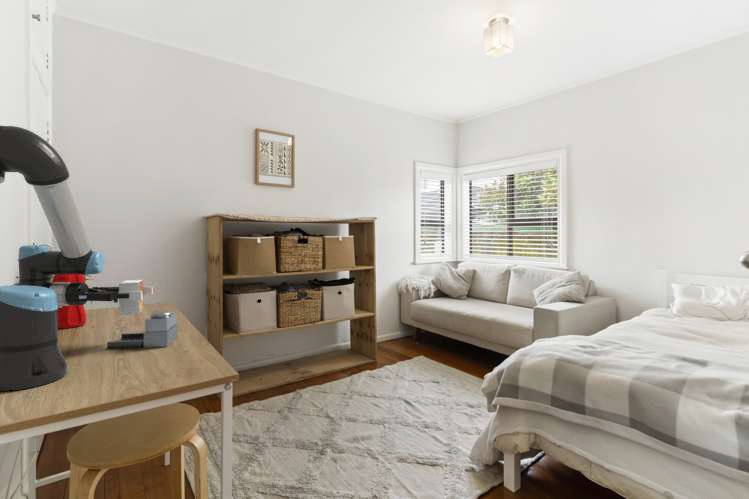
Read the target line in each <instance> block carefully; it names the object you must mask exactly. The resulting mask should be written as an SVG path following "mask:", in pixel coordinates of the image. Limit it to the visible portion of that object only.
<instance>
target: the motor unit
mask: <svg viewBox="0 0 749 499" xmlns="http://www.w3.org/2000/svg"><path fill="white" fill-rule="evenodd" d="M144 322H145V324H144V325H145V326H144V328H145V330H144V332H131V333H130V332H128V333H126V332H125V333H121V337H120V338H118V339H117V340H115V341H108V342H107V343H106V344H107V347H106V348H107V350H122V349H123V350H125V349H142V348H144V349H147V348H150V349H151V348H168V347H169V346H170V345H171V344H172V343H174V342H175V341H176V340H177V339H179V332H178V329H179V327H178V326H179V325H178V323H177V312H172V311H170V310H160V311H159V310H158V311H154V312H151V313H150V316H149V317H148V318H146V319H145V320H144ZM175 339H176V340H175Z"/></svg>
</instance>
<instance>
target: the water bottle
mask: <svg viewBox="0 0 749 499" xmlns="http://www.w3.org/2000/svg"><path fill="white" fill-rule="evenodd" d="M52 278H53V279H52V283H55V282H70V283H72V282H84V283H86V279H85V276H84V275H53V277H52ZM85 324H87V313H86V310H85V306H84V305H81V306H70V305H68V306H62V307H61V308H59V307H58V329H63V330H64V329H70V328H71V329H72V328H76V327H77V328H78V327H82V326H84V325H85Z"/></svg>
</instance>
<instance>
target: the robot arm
mask: <svg viewBox="0 0 749 499" xmlns="http://www.w3.org/2000/svg"><path fill="white" fill-rule="evenodd" d="M6 173H18V174H20V175H22V176H23V178H24V180H25V182H26V183H27V185H30V186H32V187H33V189H34V192H35V195H36V196H37V198H38V200H39V202H40V206H41V207H42V210H43V212H44V215H45V218H46V219H47V222H48V224H49V226H50V229H51V231H52V234H53V236H54V238H55V240H56V243H57V245H58V247H59V249H60V250H59V251H58V250H57V251H56V250H51V247H50V245H47V244H46V245H45V244H44V245H43V244H30V245H29V244H27V245H22V246H20V247H19V249H18V259H17V262H18V277H19V281H18V282H16V283H13V284H12V285H1V286H0V392H10V391H9V390H13V391H19V390H24V389H25V390H26V389H31V388H36V387H39V386H45V385H47V384H50V383H53V382H55V381H58V380H60V379H62V378H64V377H65V376H66V375H67V374H68V364H67V362H66V359H65V357H64V356H63V353H62V351H61V349H60V346H59V341H58V340H59V338H58V336H59V331H58V329H59V328H58V307H59V308H61V307H62V306H68V305H70V306H81V305H83V306H84V305H86V304H87V302H113V303H119V300H141V299H142V291H119V286H100V287H99V286H92V287H89V285H88V284H87V283H86V282H85V283H84V282H72V283H70V282H55V283H53V282H51V280H52V276H55V275H85V276H87V275H96V274H97V275H99V274H101V273H102V271H103V270H104V267H105V262H106V261H105V256H104V253H102V252H101V251H96V250H92V247H91V245H90V242H89V239H88V236H87V233H86V230H85V228H84V225H83V223H82V222H83V221H82V219H81V217H80V214H79V211H78V208H77V204H76V202H75V200H74V197H73V194H72V192H71V189H70V186H69V182H68V180H69V179H70V176H71V175H70V172H69V170H68V167H67V164H66V163H65V161H64V160H63V158H62V157H61V155H60V154H59V152H58V151H57V150H56V149H55V148H54V147H53V146H52V145H51V144H50V143H49V141H47V140H45V139H44V138H43V137H41V136H40V135H38V134H36V132H33V131H31V130H29V129H26V128H24V127H20V126H13V125H0V185H1V184H2V183H4V182H5V178H6ZM153 289H154V288H153V286H143V296H153V294H154V291H153Z"/></svg>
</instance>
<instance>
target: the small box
mask: <svg viewBox="0 0 749 499" xmlns="http://www.w3.org/2000/svg"><path fill="white" fill-rule="evenodd" d="M118 287H119V291H142V299H141V300H119V299H118V304H119V305H118V306H119V308H118V309H119V310H118V311H119V316H128V315H130V316H131V315H139V314H141V312H143V311H144V295H143V287H144V279H128V280H127V279H126V280H125V279H124V280H123V281H122V282H118Z"/></svg>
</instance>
